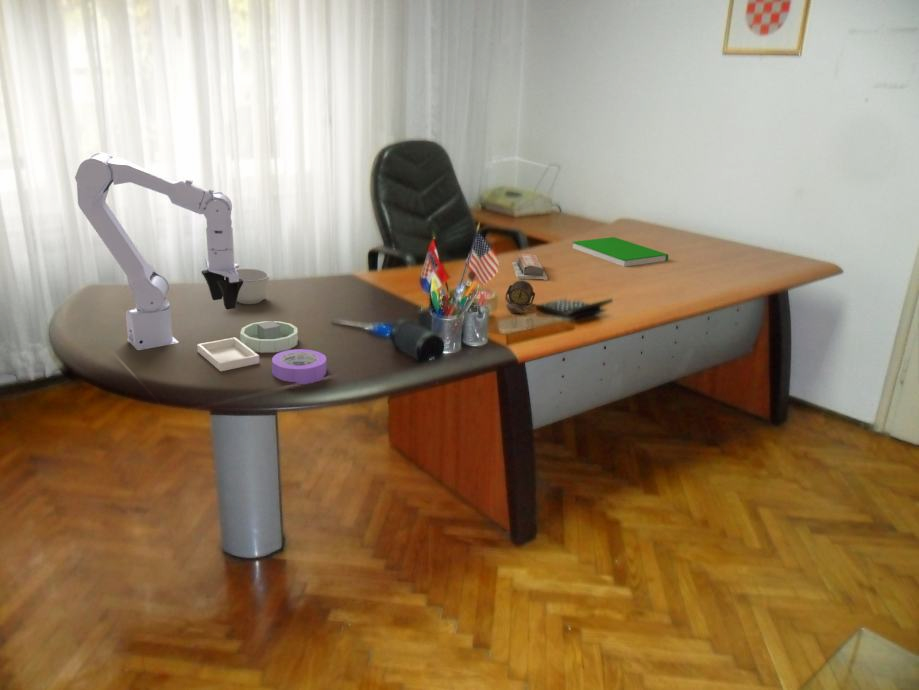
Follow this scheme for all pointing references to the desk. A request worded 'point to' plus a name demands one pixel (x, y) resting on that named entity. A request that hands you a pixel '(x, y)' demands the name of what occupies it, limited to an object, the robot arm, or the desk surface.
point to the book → (619, 251)
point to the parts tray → (228, 354)
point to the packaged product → (528, 267)
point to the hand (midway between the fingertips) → (223, 303)
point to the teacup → (253, 285)
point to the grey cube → (268, 330)
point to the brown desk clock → (519, 296)
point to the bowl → (270, 345)
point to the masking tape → (302, 374)
